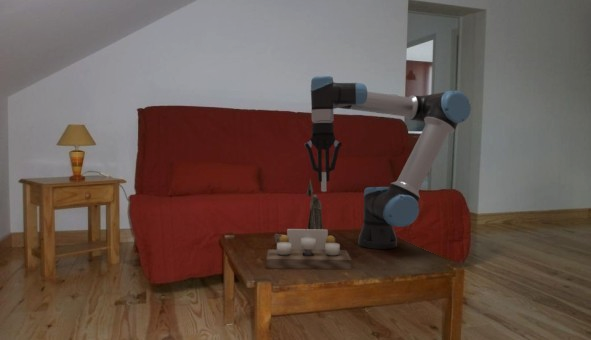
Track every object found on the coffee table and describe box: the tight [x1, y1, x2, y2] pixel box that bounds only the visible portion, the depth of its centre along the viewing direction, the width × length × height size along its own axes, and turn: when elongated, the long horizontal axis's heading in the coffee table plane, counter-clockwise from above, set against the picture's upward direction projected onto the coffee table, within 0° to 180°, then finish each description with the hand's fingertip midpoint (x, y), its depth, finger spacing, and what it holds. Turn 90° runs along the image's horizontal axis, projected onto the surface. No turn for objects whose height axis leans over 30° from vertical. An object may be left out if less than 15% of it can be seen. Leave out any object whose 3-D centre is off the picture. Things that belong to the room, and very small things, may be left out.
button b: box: [301, 237, 316, 256], centre depth 141 cm, size 5×5×6 cm
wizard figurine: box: [306, 178, 324, 229], centre depth 178 cm, size 10×8×25 cm
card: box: [280, 228, 336, 250], centre depth 147 cm, size 19×1×10 cm, turn 91°
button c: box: [276, 242, 291, 256], centre depth 141 cm, size 5×5×6 cm
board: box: [265, 248, 352, 270], centre depth 141 cm, size 27×12×3 cm, turn 91°
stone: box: [273, 233, 287, 244], centre depth 165 cm, size 9×11×5 cm
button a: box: [325, 242, 341, 256], centre depth 141 cm, size 5×5×6 cm
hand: (323, 190), depth 148 cm, fingers closed
